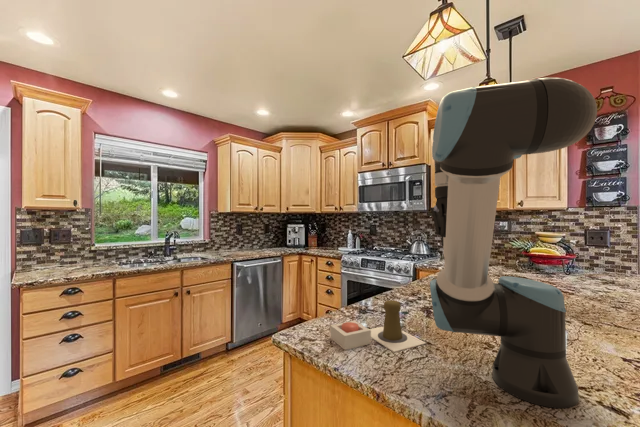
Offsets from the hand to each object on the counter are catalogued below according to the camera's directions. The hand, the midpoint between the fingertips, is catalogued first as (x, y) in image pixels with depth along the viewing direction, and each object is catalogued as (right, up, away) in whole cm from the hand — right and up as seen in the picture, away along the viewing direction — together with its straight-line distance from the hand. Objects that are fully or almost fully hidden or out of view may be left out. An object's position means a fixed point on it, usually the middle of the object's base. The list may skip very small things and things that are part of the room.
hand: (448, 256), depth 94 cm
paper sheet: (-20, -25, -6) cm, 32 cm away
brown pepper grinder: (-20, -24, -6) cm, 32 cm away
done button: (-34, -23, -8) cm, 41 cm away
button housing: (-34, -25, -8) cm, 42 cm away
